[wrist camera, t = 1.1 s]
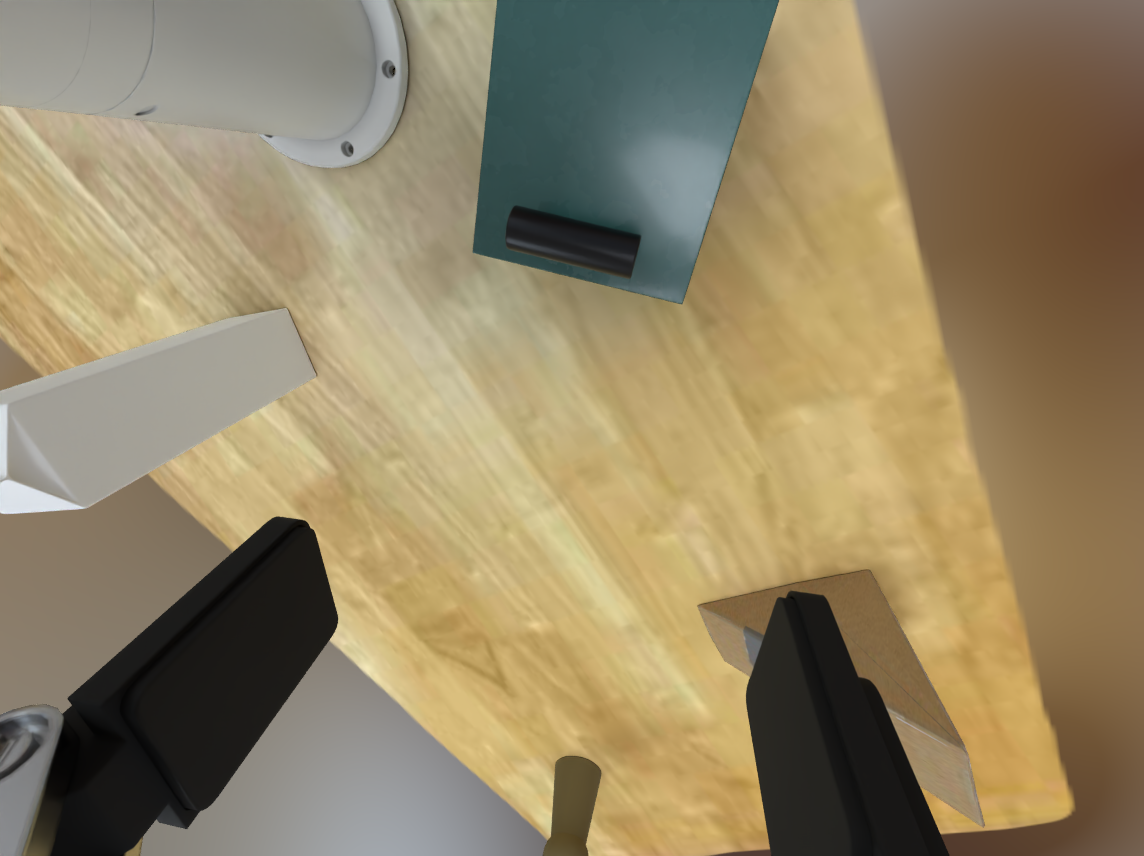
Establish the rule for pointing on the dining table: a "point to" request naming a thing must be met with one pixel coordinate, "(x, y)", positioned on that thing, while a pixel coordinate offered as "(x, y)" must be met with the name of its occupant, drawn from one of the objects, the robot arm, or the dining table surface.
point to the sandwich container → (865, 673)
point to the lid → (613, 134)
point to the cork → (572, 806)
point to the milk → (140, 409)
